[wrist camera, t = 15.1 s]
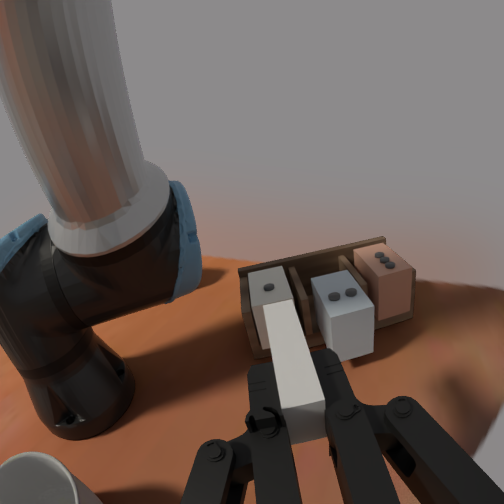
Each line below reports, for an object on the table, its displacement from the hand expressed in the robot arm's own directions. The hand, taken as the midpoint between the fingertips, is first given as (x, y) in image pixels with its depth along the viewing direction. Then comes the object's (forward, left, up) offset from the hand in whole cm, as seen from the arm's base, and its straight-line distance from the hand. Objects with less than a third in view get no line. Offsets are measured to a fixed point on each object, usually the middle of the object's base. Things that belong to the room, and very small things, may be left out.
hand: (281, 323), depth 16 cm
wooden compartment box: (-4, +21, -16) cm, 26 cm away
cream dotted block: (-9, +16, -13) cm, 22 cm away
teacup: (-15, -19, -16) cm, 29 cm away
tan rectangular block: (+3, +23, -13) cm, 26 cm away
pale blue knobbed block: (-1, +15, -13) cm, 20 cm away
